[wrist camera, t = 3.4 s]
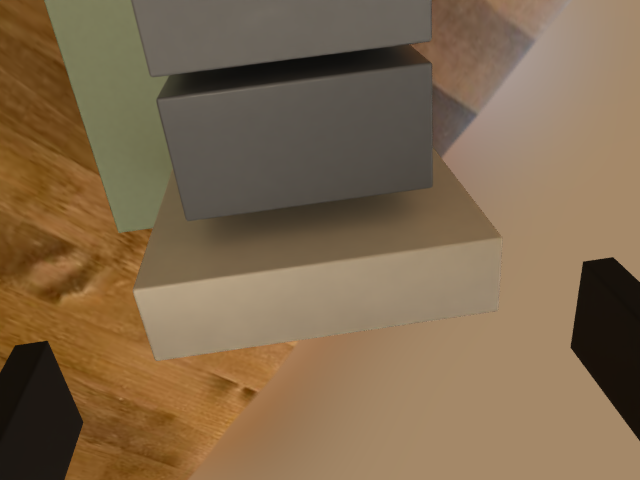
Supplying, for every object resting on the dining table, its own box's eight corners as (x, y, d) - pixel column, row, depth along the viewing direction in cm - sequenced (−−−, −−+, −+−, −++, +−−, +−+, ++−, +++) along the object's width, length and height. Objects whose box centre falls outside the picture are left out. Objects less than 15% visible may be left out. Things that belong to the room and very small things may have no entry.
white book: (403, 108, 26) (503, 237, 15) (405, 160, 27) (499, 312, 17) (181, 137, 26) (131, 290, 15) (193, 189, 27) (154, 362, 16)
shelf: (360, -136, 28) (501, -205, 12) (376, 138, 35) (479, 327, 19) (71, -101, 28) (-187, -126, 11) (145, 169, 34) (50, 390, 18)
